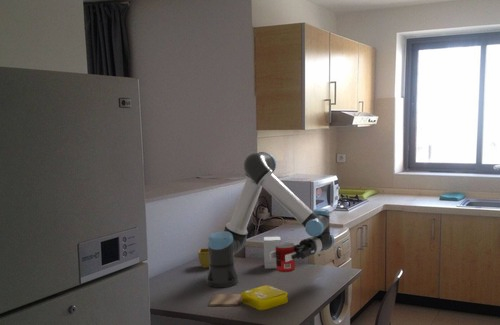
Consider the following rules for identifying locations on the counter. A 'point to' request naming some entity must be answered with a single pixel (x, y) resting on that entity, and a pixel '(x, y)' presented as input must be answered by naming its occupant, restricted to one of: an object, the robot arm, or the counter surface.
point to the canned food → (281, 251)
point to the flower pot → (204, 257)
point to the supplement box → (270, 247)
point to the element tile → (264, 297)
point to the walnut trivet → (225, 300)
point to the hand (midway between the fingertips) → (278, 257)
